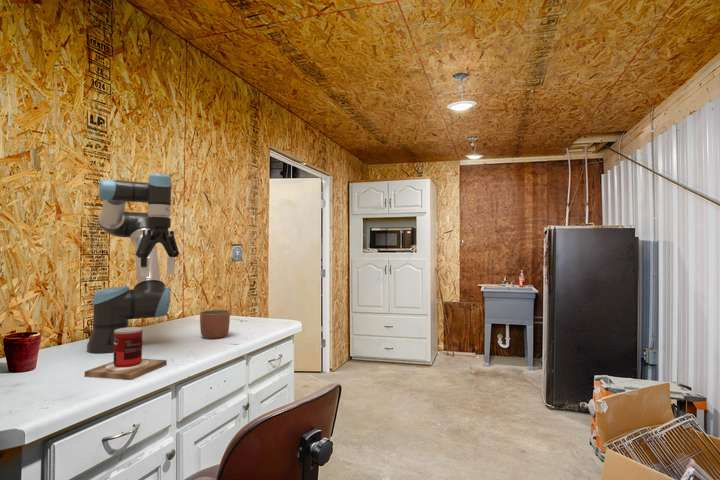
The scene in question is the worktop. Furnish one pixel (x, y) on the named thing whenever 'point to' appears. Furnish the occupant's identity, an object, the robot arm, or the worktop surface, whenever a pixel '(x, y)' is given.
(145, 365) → the board
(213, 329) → the planter
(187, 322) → the worktop surface
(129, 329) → the canned food
